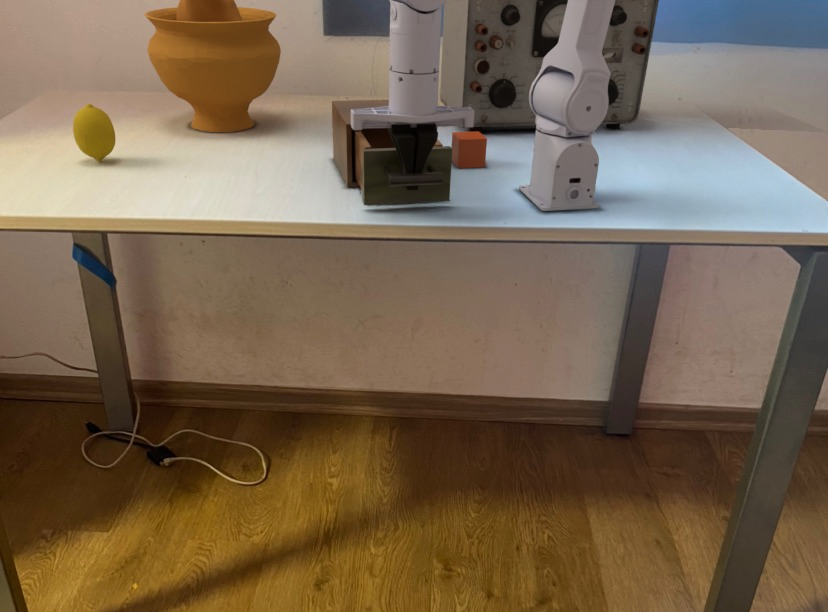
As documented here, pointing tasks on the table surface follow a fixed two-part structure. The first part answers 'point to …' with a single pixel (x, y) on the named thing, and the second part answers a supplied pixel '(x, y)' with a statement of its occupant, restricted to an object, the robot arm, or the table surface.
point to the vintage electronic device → (534, 57)
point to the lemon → (94, 132)
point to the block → (468, 149)
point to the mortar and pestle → (214, 59)
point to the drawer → (397, 171)
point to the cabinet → (348, 134)
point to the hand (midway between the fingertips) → (410, 187)
